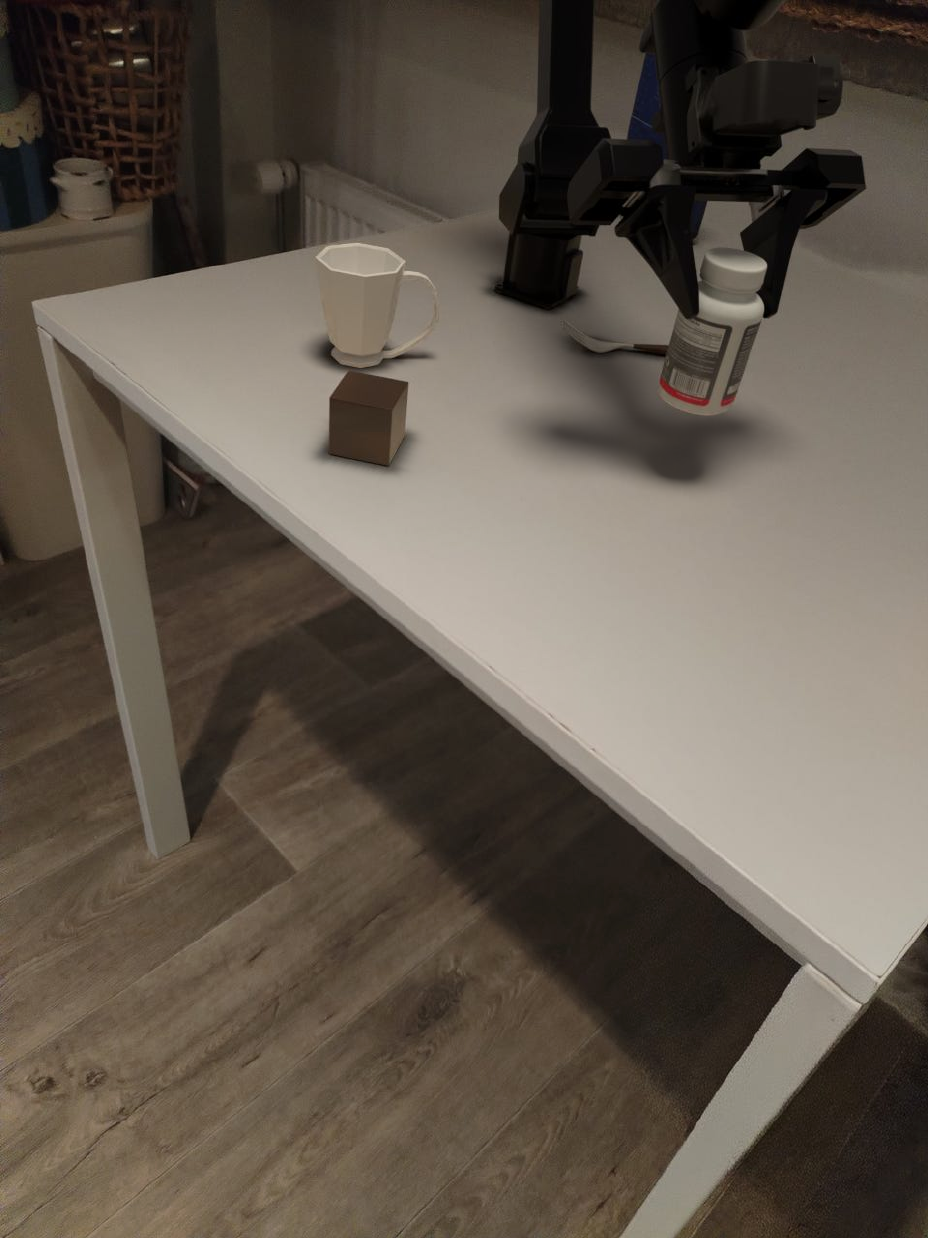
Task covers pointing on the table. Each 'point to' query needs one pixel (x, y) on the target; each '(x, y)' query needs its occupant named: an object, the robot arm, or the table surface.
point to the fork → (608, 346)
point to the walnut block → (367, 417)
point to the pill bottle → (715, 334)
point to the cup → (364, 301)
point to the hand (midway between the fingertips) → (731, 316)
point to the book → (642, 124)
